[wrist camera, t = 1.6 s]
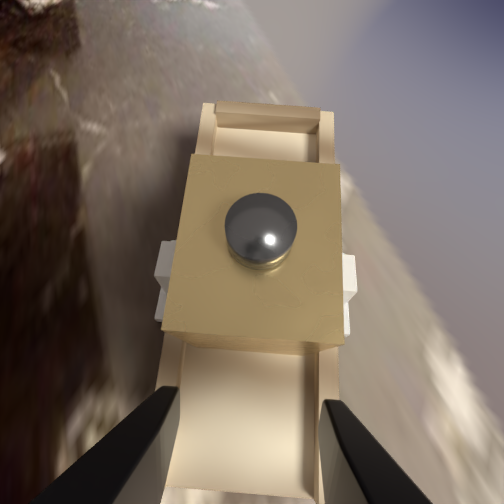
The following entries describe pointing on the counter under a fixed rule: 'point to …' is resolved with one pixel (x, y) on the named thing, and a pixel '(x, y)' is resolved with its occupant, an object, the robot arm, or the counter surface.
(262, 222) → the block
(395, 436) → the counter surface
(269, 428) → the beam
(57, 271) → the counter surface
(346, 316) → the fulcrum
